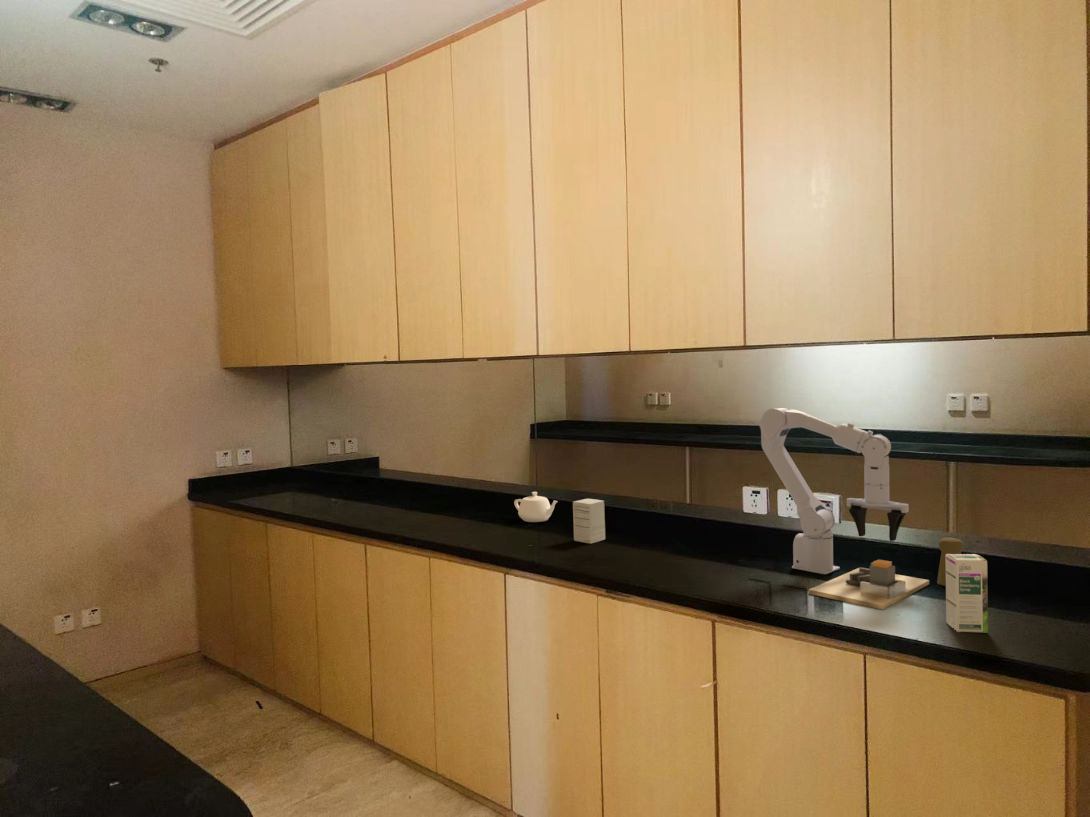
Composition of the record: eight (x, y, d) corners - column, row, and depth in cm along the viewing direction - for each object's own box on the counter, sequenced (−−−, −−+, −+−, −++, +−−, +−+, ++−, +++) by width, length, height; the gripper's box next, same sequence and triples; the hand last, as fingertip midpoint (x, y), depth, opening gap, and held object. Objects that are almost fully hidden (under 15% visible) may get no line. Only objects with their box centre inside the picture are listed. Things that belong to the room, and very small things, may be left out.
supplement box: (588, 536, 238) (587, 498, 237) (605, 539, 232) (605, 500, 232) (573, 540, 232) (572, 501, 232) (590, 544, 227) (589, 503, 226)
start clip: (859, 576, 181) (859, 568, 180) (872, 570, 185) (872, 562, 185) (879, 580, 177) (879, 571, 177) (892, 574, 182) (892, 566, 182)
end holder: (860, 593, 167) (860, 582, 167) (874, 586, 172) (874, 575, 172) (891, 599, 162) (891, 588, 162) (905, 592, 167) (905, 581, 167)
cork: (939, 578, 180) (939, 534, 180) (967, 582, 176) (967, 537, 176) (934, 584, 175) (934, 539, 175) (963, 588, 171) (962, 542, 171)
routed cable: (844, 583, 174) (844, 579, 174) (859, 576, 180) (859, 572, 180) (877, 590, 169) (877, 586, 169) (892, 582, 174) (892, 578, 174)
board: (808, 593, 171) (808, 589, 171) (859, 571, 188) (859, 567, 188) (882, 609, 158) (882, 605, 158) (929, 584, 176) (929, 580, 176)
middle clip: (860, 585, 173) (860, 577, 173) (849, 581, 176) (849, 573, 176) (872, 583, 174) (872, 575, 174) (861, 580, 177) (861, 571, 177)
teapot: (568, 519, 267) (567, 492, 266) (547, 525, 257) (546, 497, 256) (525, 514, 279) (525, 487, 278) (504, 520, 269) (503, 492, 269)
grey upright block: (861, 590, 169) (861, 560, 169) (869, 586, 172) (869, 557, 171) (887, 595, 165) (887, 564, 164) (895, 591, 167) (894, 561, 167)
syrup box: (956, 632, 144) (956, 559, 143) (945, 622, 149) (945, 552, 149) (988, 633, 143) (988, 560, 142) (975, 623, 148) (975, 552, 148)
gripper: (840, 483, 184) (841, 536, 185) (900, 488, 174) (900, 545, 174) (853, 479, 189) (854, 531, 190) (912, 485, 178) (912, 540, 179)
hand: (877, 537), depth 182 cm, fingers open, 7 cm apart
